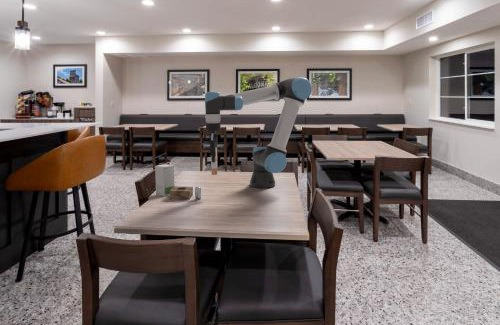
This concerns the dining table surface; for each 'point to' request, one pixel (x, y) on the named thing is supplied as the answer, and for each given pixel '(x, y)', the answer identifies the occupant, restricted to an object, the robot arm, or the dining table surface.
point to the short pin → (197, 193)
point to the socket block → (181, 193)
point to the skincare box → (164, 179)
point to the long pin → (214, 170)
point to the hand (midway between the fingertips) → (214, 167)
